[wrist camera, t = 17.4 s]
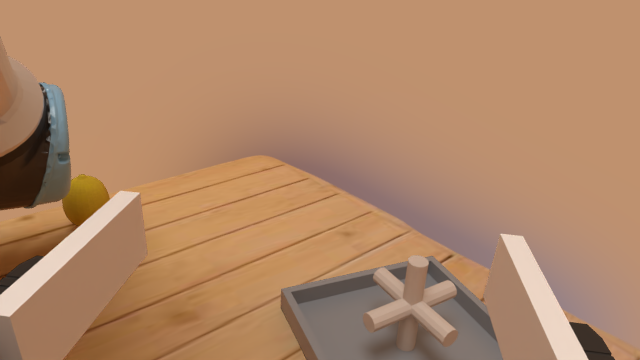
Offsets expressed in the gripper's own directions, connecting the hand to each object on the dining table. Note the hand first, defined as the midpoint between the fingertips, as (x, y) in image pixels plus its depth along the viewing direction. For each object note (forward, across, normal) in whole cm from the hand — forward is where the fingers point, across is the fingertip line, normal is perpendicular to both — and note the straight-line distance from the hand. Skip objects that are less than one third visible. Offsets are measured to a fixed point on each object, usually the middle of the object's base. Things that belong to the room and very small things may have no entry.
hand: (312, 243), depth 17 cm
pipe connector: (+21, +8, -24) cm, 33 cm away
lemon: (+35, -34, -25) cm, 55 cm away
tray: (+21, +8, -25) cm, 33 cm away
